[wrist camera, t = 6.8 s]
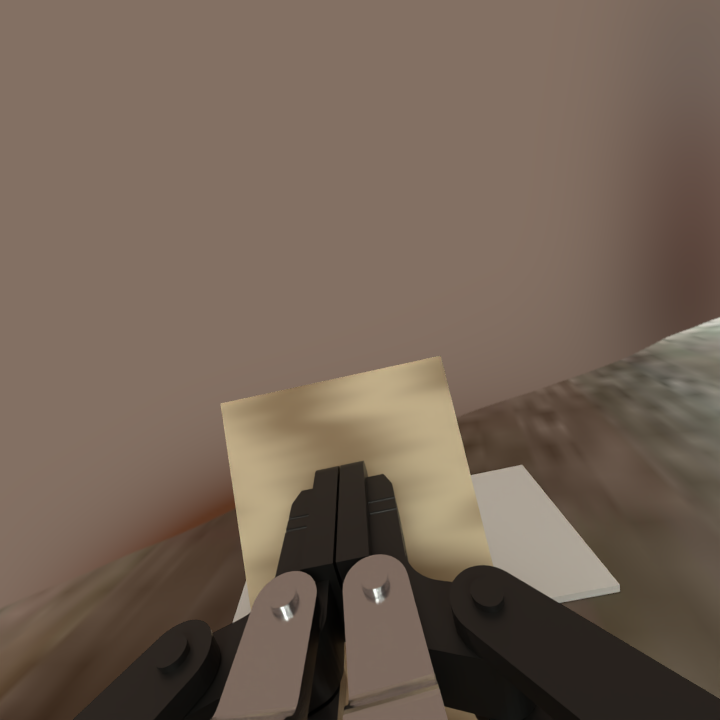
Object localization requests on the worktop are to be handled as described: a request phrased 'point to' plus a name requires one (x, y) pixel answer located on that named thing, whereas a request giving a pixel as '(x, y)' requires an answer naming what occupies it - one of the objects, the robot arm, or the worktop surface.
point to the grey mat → (528, 540)
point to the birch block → (353, 444)
